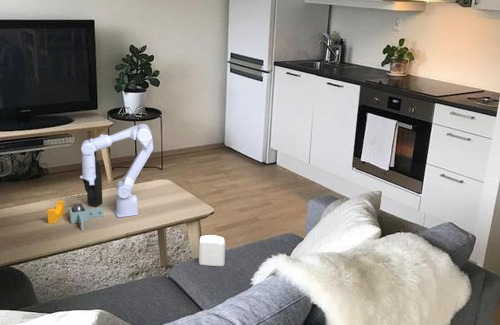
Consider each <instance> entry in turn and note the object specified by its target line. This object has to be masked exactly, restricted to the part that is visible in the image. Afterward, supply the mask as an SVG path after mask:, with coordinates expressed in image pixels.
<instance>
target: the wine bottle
mask: <svg viewBox="0 0 500 325" xmlns="http://www.w3.org/2000/svg"><path fill="white" fill-rule="evenodd" d="M94 156H95V172H96V178H95V180H94V183H97V184H98V185H97V187H96V189H95V194H94V197H93V198H89V197H88V192H86V198H87V200H86V201H87V205H88V206H89V207H93V208H98V207H99V206H101V205H103V179H102V178H103V176H102V174H103V172H102V165H101V163H100V161H98V159H97V151H95V152H94Z"/></svg>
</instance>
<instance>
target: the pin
mask: <svg viewBox="0 0 500 325" xmlns="http://www.w3.org/2000/svg"><path fill="white" fill-rule="evenodd" d="M83 206H84V205H83V204H82V203H75V204H73V206H72V207H73V208H74V212H80V211H83Z"/></svg>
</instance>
